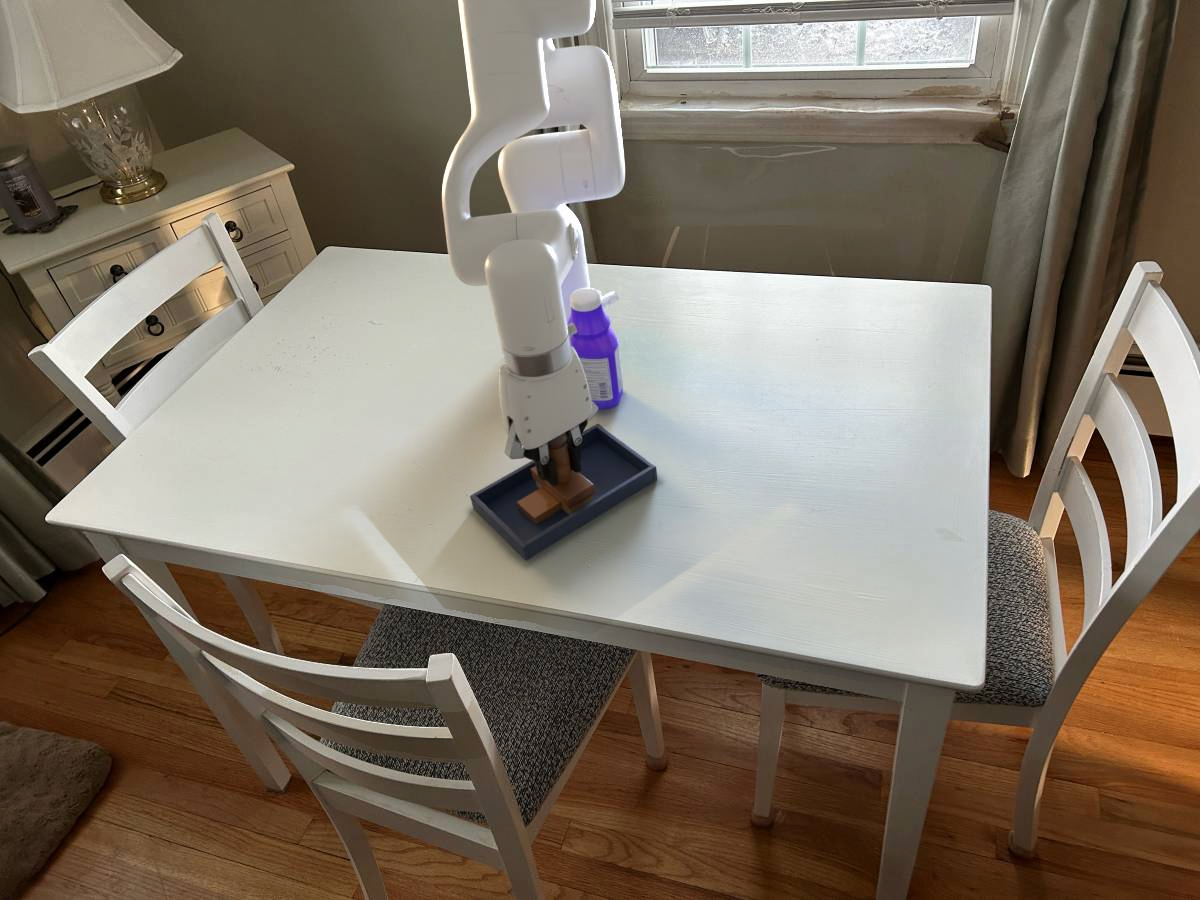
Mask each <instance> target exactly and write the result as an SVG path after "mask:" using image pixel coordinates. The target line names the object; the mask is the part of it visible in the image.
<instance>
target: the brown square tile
mask: <svg viewBox="0 0 1200 900" xmlns="http://www.w3.org/2000/svg"><path fill="white" fill-rule="evenodd" d="M517 505H518V509H519V510H520V511H522V512H523V513H524V514H525V515H526V516H527V517H528V518H529V519H530V520H531V521H532V522H534V523H535V524H538V523H540V522H541V521H543V520H545V519H546V518H548V517H550V516H551V515H553V514H555V513H556V512H558V511H559V510H561V509H562V506H561V502H560V501H559V500H558V499H556V498H555V497H554V496H553V495H552V494H551V493H549V492H548V491H547V490H546V489H545V488H544V487H541V488H540V489H538V490H536V491H534V492H533V493H531V494H529V495H528V496H526V497H524V498H523V499H521V500H519V501H518V502H517Z"/></svg>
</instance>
